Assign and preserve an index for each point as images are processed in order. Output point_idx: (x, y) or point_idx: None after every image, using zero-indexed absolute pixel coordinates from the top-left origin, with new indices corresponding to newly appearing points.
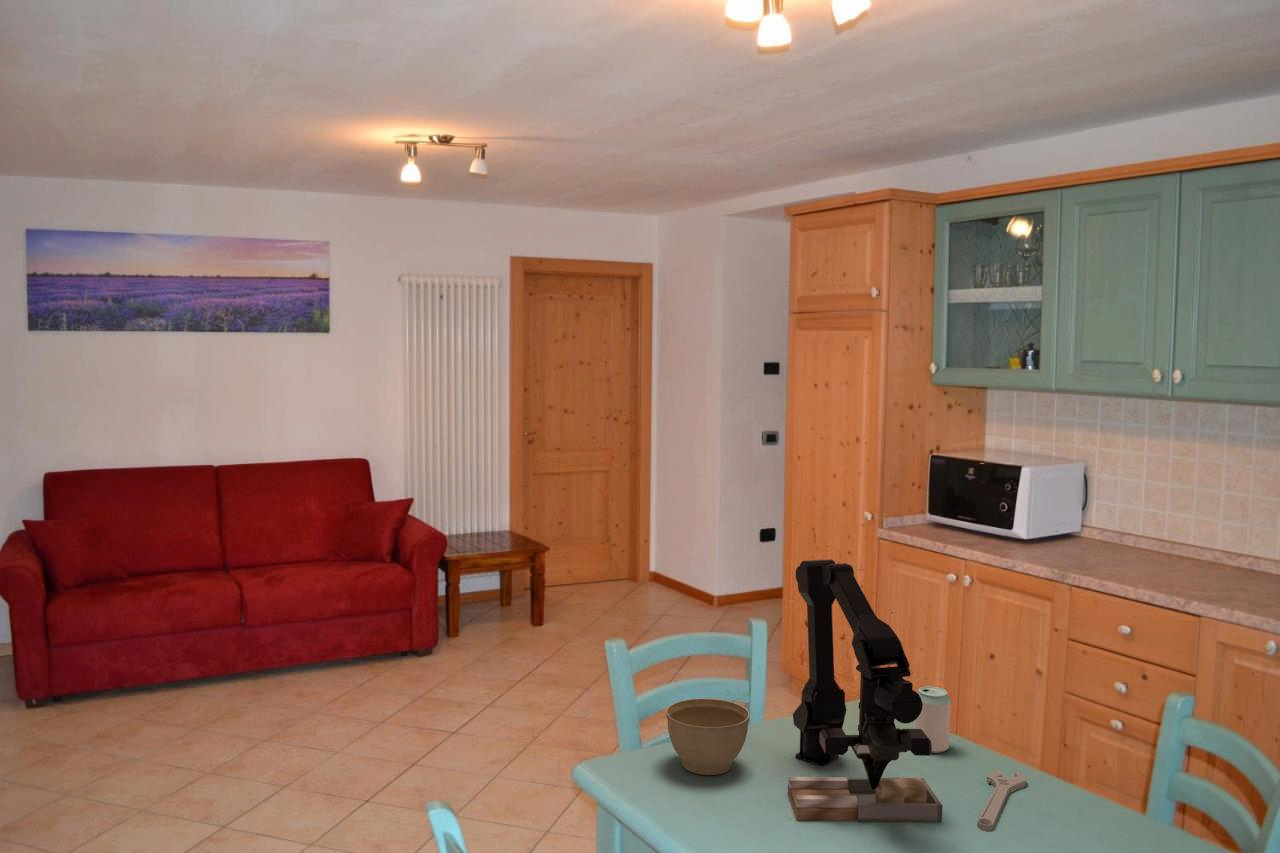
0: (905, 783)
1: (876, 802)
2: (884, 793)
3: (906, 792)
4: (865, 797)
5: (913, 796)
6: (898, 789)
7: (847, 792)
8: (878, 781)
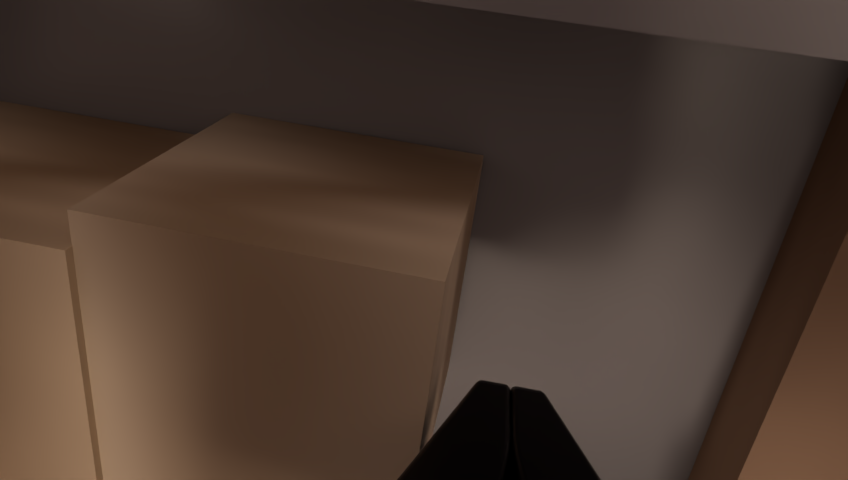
0: (29, 356)
1: None
2: (416, 233)
3: None
4: None
5: (22, 170)
6: (175, 225)
7: (766, 475)
8: (447, 441)
